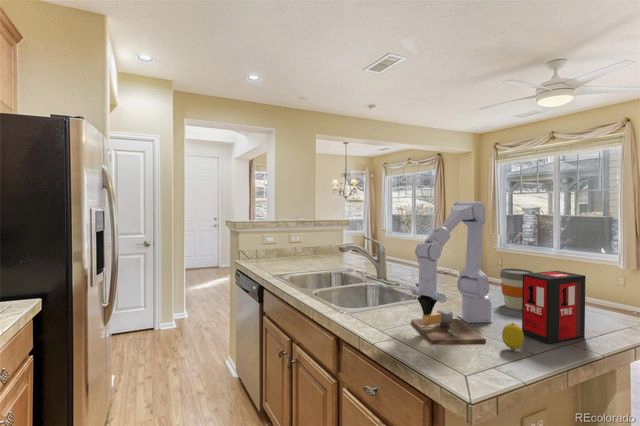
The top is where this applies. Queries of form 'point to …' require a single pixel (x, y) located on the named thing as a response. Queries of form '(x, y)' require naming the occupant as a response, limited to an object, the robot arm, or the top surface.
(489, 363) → the top surface
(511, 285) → the reusable coffee cup
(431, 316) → the orange and grey bar
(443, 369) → the top surface
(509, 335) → the lemon
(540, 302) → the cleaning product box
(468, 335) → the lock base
